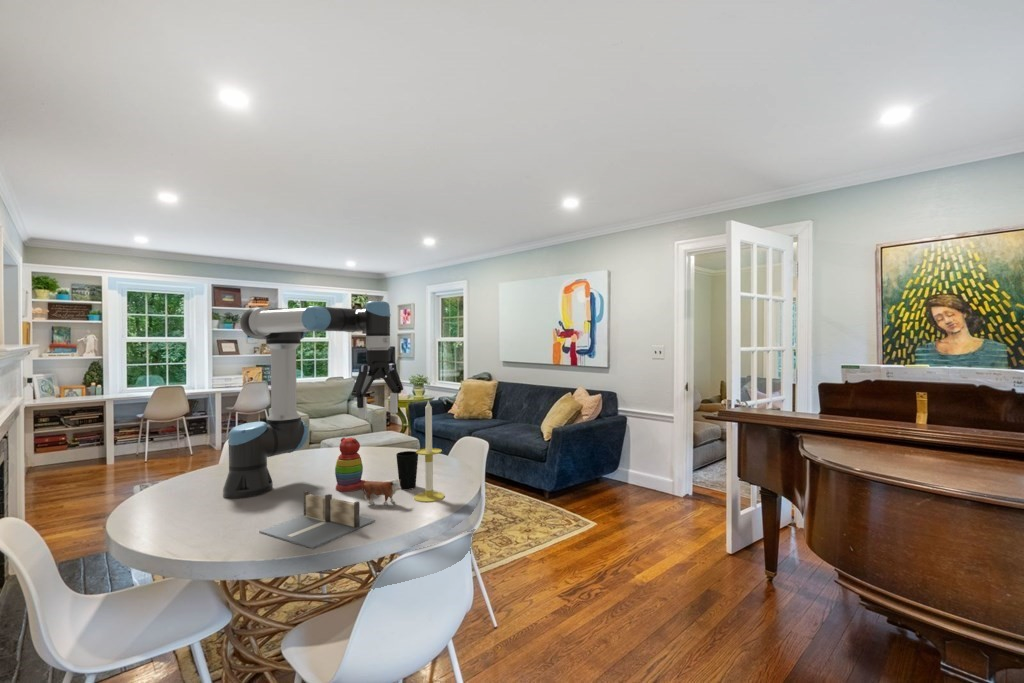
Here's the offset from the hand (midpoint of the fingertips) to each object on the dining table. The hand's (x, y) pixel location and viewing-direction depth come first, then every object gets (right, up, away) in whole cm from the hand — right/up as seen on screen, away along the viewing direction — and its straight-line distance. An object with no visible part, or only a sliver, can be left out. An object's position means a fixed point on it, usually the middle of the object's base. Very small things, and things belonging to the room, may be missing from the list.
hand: (378, 415), depth 152 cm
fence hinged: (-4, -27, -20) cm, 34 cm away
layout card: (-11, -28, -20) cm, 36 cm away
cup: (+6, -28, +16) cm, 33 cm away
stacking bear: (-15, -29, +16) cm, 36 cm away
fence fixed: (-14, -28, -14) cm, 34 cm away
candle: (+15, -28, +5) cm, 32 cm away
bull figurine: (+2, -28, -1) cm, 28 cm away
